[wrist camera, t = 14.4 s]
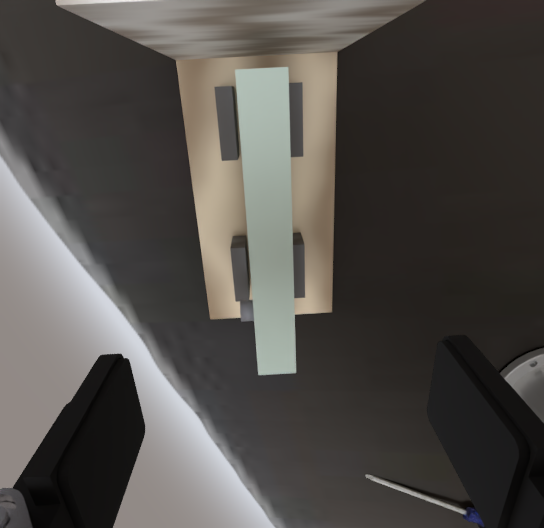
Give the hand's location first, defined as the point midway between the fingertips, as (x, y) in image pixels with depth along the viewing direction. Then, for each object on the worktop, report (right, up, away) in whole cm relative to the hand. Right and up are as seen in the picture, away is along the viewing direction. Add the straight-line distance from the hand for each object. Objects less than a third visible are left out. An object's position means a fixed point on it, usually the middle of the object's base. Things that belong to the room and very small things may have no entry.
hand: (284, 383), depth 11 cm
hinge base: (-1, +10, +22) cm, 24 cm away
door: (-1, +9, +21) cm, 23 cm away
